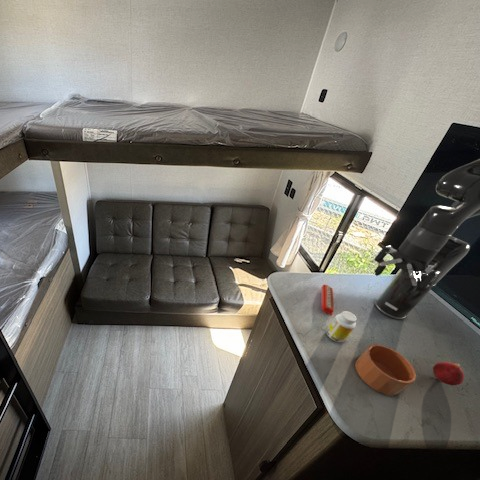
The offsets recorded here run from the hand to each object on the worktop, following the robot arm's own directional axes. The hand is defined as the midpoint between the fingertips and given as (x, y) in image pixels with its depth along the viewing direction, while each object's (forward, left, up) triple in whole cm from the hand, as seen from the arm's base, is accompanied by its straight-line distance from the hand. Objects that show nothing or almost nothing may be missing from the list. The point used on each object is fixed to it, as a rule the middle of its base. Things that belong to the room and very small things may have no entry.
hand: (390, 283), depth 81 cm
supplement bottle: (+16, +1, -18) cm, 24 cm away
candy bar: (+5, -11, -18) cm, 22 cm away
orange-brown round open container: (+17, +15, -18) cm, 29 cm away
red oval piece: (0, +23, -18) cm, 29 cm away
